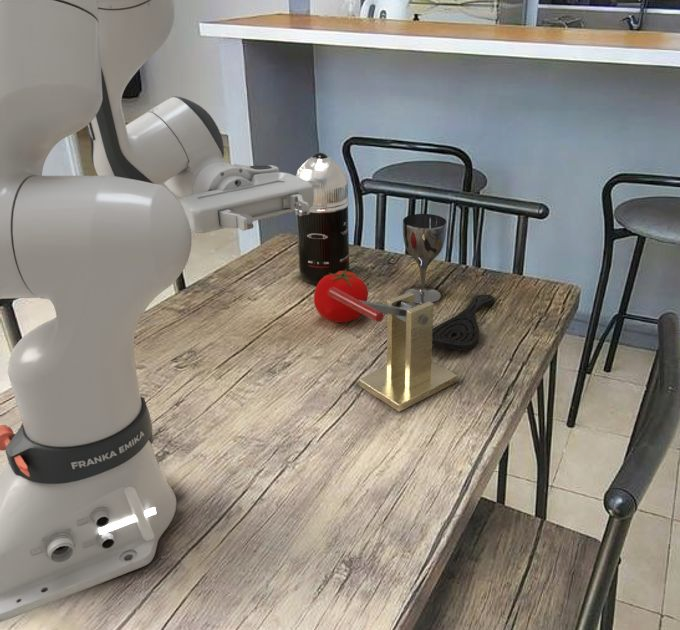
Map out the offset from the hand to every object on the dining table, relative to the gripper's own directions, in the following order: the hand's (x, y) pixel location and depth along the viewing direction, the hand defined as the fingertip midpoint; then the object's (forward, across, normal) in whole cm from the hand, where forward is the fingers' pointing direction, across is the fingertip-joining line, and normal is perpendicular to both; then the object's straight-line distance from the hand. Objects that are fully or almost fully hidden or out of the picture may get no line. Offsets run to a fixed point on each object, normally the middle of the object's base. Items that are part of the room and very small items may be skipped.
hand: (278, 217), depth 96 cm
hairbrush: (+10, +30, +24) cm, 40 cm away
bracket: (+17, +10, +24) cm, 31 cm away
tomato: (-7, +16, +24) cm, 30 cm away
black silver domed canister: (-23, +24, +24) cm, 41 cm away
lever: (+17, +5, +11) cm, 21 cm away
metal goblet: (-4, +33, +24) cm, 41 cm away
